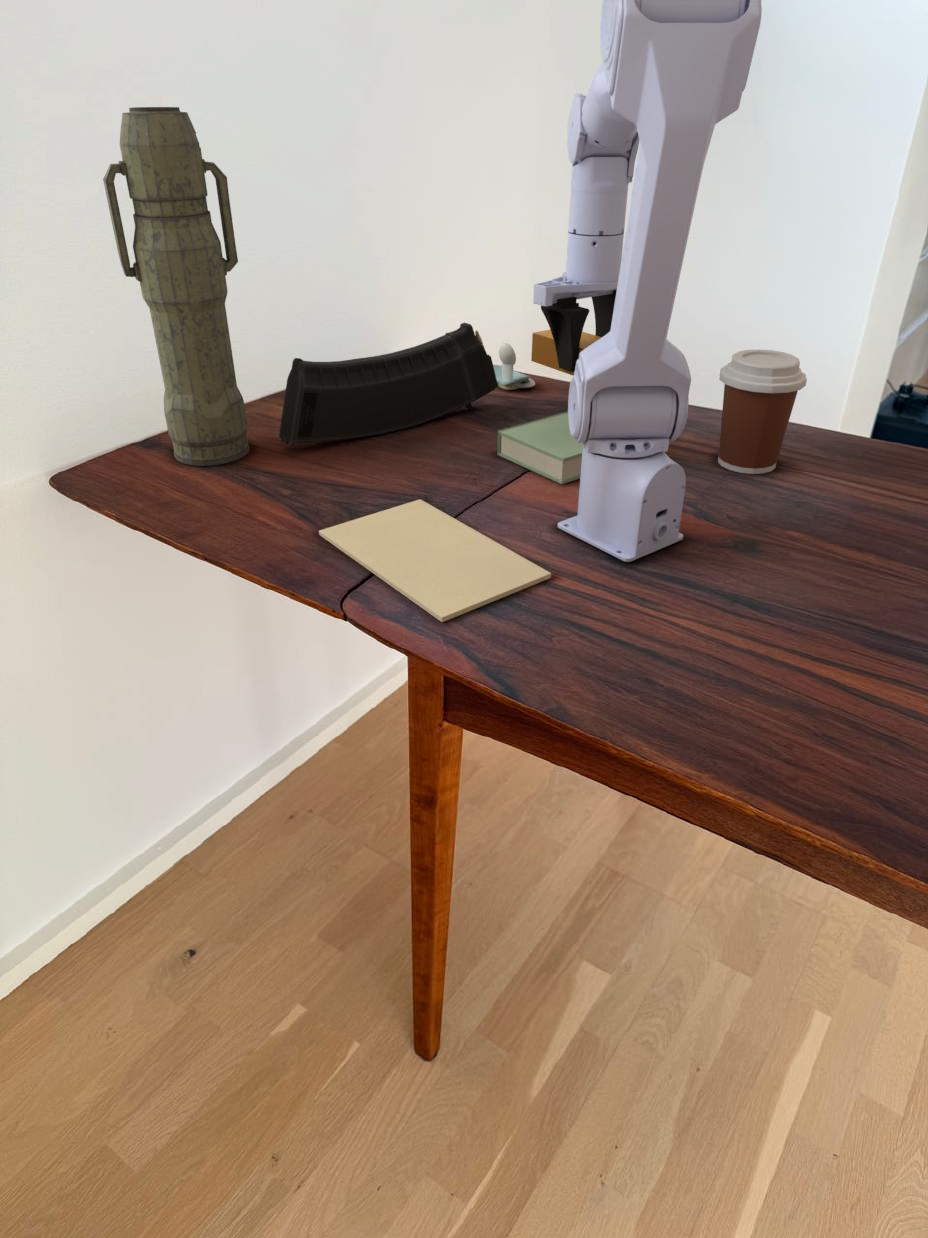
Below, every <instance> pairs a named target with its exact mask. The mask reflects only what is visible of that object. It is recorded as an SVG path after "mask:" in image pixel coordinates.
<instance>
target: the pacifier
mask: <svg viewBox="0 0 928 1238" xmlns="http://www.w3.org/2000/svg"><path fill="white" fill-rule="evenodd" d="M516 355H517V354H516V352H515V349H514V348H513V346H511V344H509V343H508V342H503V343H502V344H500V346H499V349H498V357H499V360H500V361H501V365H499V364H493V367H494V371H495V376H496V380H497V387H499V388H501V389H504V390H507V391H508V390H518V389H531V388H534V387H535V386H536V381H535V380H534V379H532V378H531V377H532V376H531V375H527V374H523V373H521V372H519V371H516V370H514V366H515V364H516V363H517V356H516ZM523 382H524V383H523Z"/></svg>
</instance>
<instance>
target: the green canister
mask: <svg viewBox="0 0 928 1238" xmlns="http://www.w3.org/2000/svg"><path fill="white" fill-rule="evenodd" d="M128 110H129V111H128V112H122V114H121V124H120V132H119V133H120V134H119V149H120V155H121V159H122V160H118V163H110V164H109V165H108V168H107V170H106V172H105V174H104V176H103V178H102V181H103V186H104V189H105V196H106V200H107V206H108V211H109V215H110V220H111V225H112V230H113V235H114V240H115V245H116V250H117V254H118V258H119V262H120V266H121V268H122V271H123V274H124V276H125V277H128V278H135V280H136V281H137V282H139V287H140V291H141V296H142V299H143V301H144V302H145V304H146V306H147V307H148V308H149V313H150V318H151V324H152V328H153V334H154V338H155V344H156V349H157V350H156V351H157V355H158V360H159V365H160V370H161V376H162V380H163V385H164V395H163V412H164V418H165V422H166V428H167V433H168V436H169V438H170V439H171V443H172V447H173V456H174V458H175V459H176V461H177V462H180V463H182V464H184V465H189V466H198V467H208V466H218V465H223V464H228V463H231V462H235V461H238V460H240V459H242V458H244V457H245V456H247V454H249V452H250V444H249V441H248V433H247V431H248V427H249V426H248V419H247V412H246V405H245V401H244V398H243V396H242V393H241V391H240V389H239V387H238V384H237V378H236V369H235V362H234V356H233V350H232V342H231V335H230V330H229V322H228V315H227V308H226V302H227V301H226V300H227V296H228V291H229V290H228V284H227V277H226V276H227V275H228V273H229V272H231V271H232V270H233V269H234V267H236V266H237V264H238V263H239V258H238V251H237V246H236V239H235V230H234V222H233V215H232V208H231V200H230V193H229V185H228V184H229V183H228V177H227V175H226V174H225V173H224V172H223V171H222V170H221V169H220V167H219V166H218V165H217V164H216V163H215V162H214V161H206V160H205V159H204V158H203V153H202V148H201V147H200V141H199V139H198V136H197V132H196V129H195V127H194V124H193V122H192V120H191V117H190V116H189V113H188V112H187V111H181V110H180V107H179V106H142V107H141V106H140V107H139V106H137V107H128ZM207 171H210V172H211V174H212V177H214V180H215V186H216V194H217V201H218V208H219V215H220V222H221V231H222V238H223V243H224V244H223V245H224V252H225V258H224V257H223V250H222V249H223V248H222V244H221V239H220V238H219V235H218V233H217V230H216V228H215V227H214V224H213V221H212V215H211V211H210V210H209V209H208V201H207V197H208V195H209V194H208V189H207V181H206V175H205V174H206V173H207ZM116 174H121V176H125V180H126V186H127V190H128V195H129V199H131V200H132V206H133V211H134V213H133V214H132V217H133V222H134V231H133V232H134V234H133V241H132V242H133V243H132V249H133V255H134V259H135V260H134V261H135V262H133V264H132V266H131V262H130V256H129V252H128V247H127V241H126V237H125V231H124V225H123V222H122V221H123V220H122V216H121V212H120V211H121V210H120V206H119V201H118V195H117V190H116V186H115V178H116Z"/></svg>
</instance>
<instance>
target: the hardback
mask: <svg viewBox="0 0 928 1238" xmlns="http://www.w3.org/2000/svg"><path fill="white" fill-rule="evenodd" d="M496 445H497V447H496V448H497V449H496V455H497V456H499V457H501V458H503V459H505V460H507V461H509V462H512V463H514V464H515V465H519V466H521V467H523V468H525V469H527V470H529V471H531V472H533V473H536V474H538V475H541V476H542V477H545V478H547V479H549V480H551V481H553V482H556V483H558V484H560V485H564V484H567V483H570V482H573V481H577V480H580V476H581V463H582V450H583V443H578V442H576V440H575V439H574V438H573V437H572V436H571V433H570V429H569V421H568V410H566V411H563V412H560V413H556V414H553V415H549V416H545V417H542V418H538V419H535V420H530V421H527V422H523V423H520V424H516V425H513V426H509V427H505V428H502V429H498V430H497V444H496Z"/></svg>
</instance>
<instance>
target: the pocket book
mask: <svg viewBox="0 0 928 1238" xmlns="http://www.w3.org/2000/svg"><path fill="white" fill-rule="evenodd" d="M531 338H532V339H531V359H530V360H531V362H533V363H536V364H539V365H541V366H544V367H547V368H550V369H553V370H556V371H558V372H560V373H564V374H567V375H570V376H574V372H575V371H567V370H564V369H561V368H559V364H558V358H557V353H556V348H555V343H554V339H553V336H552V332H551V330H550V329H546V330H540V331H534V332H532V337H531ZM600 338H602V337H599V336H596V335H595V334H592V333H589V332H585V331H582V334H581V339H580V346H579V354H580V352H581V351H583V350H584V349H585V348H587V347H588V346H590V345H591V344H593V343H594V342H596V341H597V340H599V339H600ZM578 359H579V355H578Z"/></svg>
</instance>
